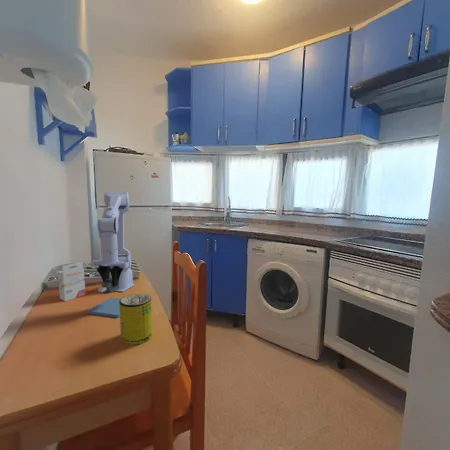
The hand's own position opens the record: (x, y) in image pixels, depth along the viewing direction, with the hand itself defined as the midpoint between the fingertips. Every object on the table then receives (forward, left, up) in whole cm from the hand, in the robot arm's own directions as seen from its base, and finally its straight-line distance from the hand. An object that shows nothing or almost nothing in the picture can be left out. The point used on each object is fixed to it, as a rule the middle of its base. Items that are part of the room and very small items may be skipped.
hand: (111, 285), depth 100 cm
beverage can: (+16, +21, -9) cm, 28 cm away
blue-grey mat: (0, +1, -9) cm, 9 cm away
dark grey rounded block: (0, 0, -2) cm, 2 cm away
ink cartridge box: (-5, -23, -9) cm, 25 cm away
